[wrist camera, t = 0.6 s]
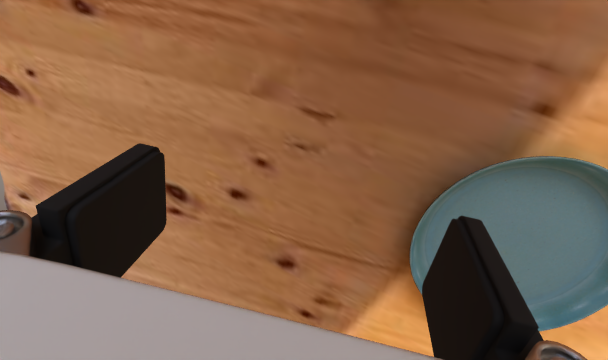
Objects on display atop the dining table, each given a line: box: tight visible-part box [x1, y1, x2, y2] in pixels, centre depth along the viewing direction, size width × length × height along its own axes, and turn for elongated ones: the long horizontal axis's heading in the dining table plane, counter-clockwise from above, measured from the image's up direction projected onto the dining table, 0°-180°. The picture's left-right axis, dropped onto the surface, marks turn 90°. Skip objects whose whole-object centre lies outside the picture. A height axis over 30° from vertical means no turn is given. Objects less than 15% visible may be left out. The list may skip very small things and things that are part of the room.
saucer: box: [410, 156, 608, 331], centre depth 40 cm, size 24×24×3 cm
